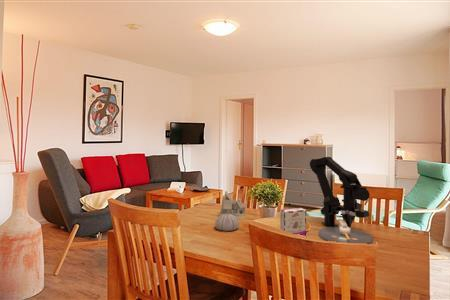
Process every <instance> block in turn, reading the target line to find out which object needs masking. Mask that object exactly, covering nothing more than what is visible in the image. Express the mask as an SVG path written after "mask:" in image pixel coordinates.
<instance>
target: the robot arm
mask: <svg viewBox="0 0 450 300" xmlns="http://www.w3.org/2000/svg"><path fill="white" fill-rule="evenodd" d="M309 167H310V169H311V171H312V172H313V173H314V174H315V175H316V178H317V180H318V183H319V186H320V190H321V193H322V194H323V202H322V204H323V207H321V209H320V214H321V215H323V216H324V217H323V219H324V220H323V221H322V222H321V224H322V225H324V226H325V227H338V224H337V223H336V215H339V213H340V212H341V213H340V216H342V218H343V220H344V221H345V223H346V224H347V227H350V228H351V227H352V223H353V222H354V220H355V218H362V219H365V218H369V217H370V212H369V211H368V210H367V209H362V207H363V204H362V203H360V202H358V200H359V201H362V202H367V201H368V200H369V198H370V195H371V194H370V191H369V190H368V189H367V187H366V186H362V184H361V181H360V180H359V178H358V176H357V174H356V173H355V172H352V171H350V170H348V169H345V168H344V167H342V166H341V165H340V164H339V163H338V162H337V161H335V160H334V159H333V157H330V156H323V157H321V158H312V159H311V160H310V161H309ZM326 167H327V168H328V169H330V170H331V171H332V172H334V174H336V176H338V180H339V181H340V182H341V183H342V185H341V186H340V189H343V192H342V193H343V195H342V196H343V199H341V201H340V199H339V196H337V197H336V196H334V193H333V191H332V189H331V186H330V183H329V180H328V177H327V174H326V169H327V168H326ZM341 202H342V203H343V206H342V205H341V204H342V203H341Z"/></svg>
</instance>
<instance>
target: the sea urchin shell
mask: <svg viewBox="0 0 450 300" xmlns="http://www.w3.org/2000/svg"><path fill="white" fill-rule="evenodd" d="M219 215H220V214H219ZM214 225H215V228H216V229H217V230H219V231H225V232H226V231H227V232H229V231H234V230H235V231H236V230H237V229H238V228H239V226H240V221H239V219H238V217H237V218H236V217H235V216H234V215H232V214H229V213H228V214H227V213H226V214H222V215H220V216H218V217H217V218H216V220H215V221H214Z"/></svg>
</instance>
